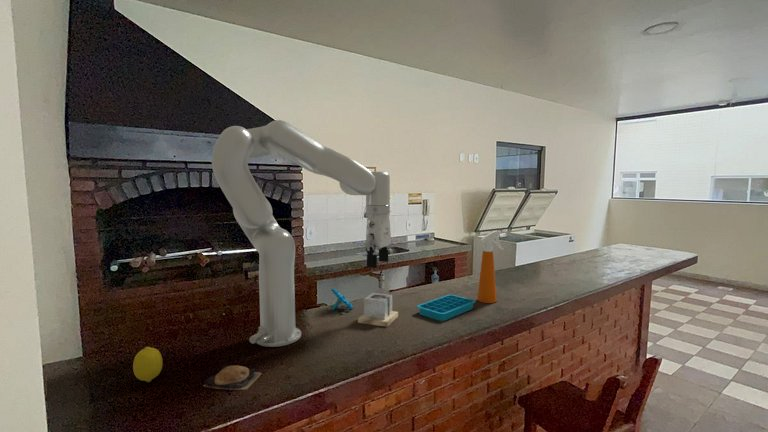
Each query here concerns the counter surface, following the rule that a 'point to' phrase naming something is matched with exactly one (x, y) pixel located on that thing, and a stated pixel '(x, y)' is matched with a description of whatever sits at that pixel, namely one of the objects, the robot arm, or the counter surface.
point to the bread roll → (232, 378)
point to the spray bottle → (488, 269)
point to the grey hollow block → (378, 306)
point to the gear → (341, 300)
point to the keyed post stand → (378, 321)
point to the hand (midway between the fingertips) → (377, 264)
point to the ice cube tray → (446, 307)
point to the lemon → (147, 364)
